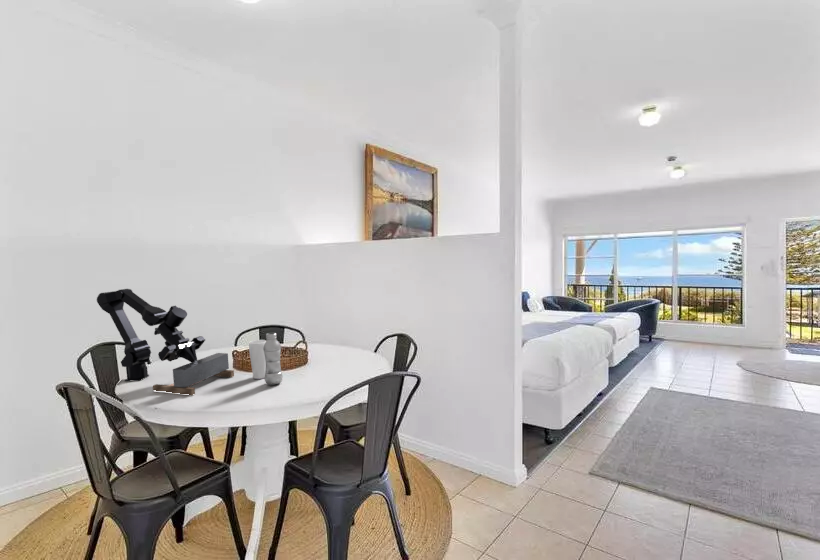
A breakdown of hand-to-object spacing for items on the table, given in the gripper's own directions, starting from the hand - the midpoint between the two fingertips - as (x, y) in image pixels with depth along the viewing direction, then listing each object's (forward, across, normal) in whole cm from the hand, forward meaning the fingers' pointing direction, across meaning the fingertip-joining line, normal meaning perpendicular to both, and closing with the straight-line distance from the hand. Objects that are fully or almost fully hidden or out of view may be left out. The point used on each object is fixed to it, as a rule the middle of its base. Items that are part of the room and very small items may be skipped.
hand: (196, 363), depth 164 cm
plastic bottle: (+28, -6, +15) cm, 32 cm away
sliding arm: (+6, 0, -2) cm, 6 cm away
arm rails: (+5, 0, -7) cm, 9 cm away
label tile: (+2, 0, -10) cm, 10 cm away
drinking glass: (+20, -12, +8) cm, 25 cm away
